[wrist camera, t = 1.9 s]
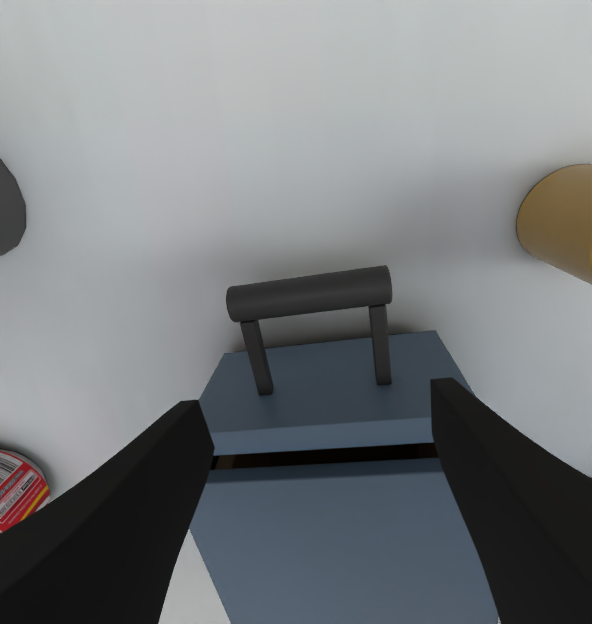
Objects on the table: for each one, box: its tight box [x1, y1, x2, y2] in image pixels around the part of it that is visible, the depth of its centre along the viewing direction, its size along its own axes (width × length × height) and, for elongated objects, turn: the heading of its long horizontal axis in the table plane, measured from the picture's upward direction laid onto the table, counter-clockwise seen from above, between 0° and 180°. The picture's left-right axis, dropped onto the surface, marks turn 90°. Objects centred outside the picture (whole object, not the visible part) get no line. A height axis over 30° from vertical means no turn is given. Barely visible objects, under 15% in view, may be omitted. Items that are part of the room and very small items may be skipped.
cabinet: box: [189, 455, 498, 624], centre depth 19 cm, size 13×12×8 cm
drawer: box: [199, 265, 476, 470], centre depth 17 cm, size 17×11×6 cm, turn 10°
